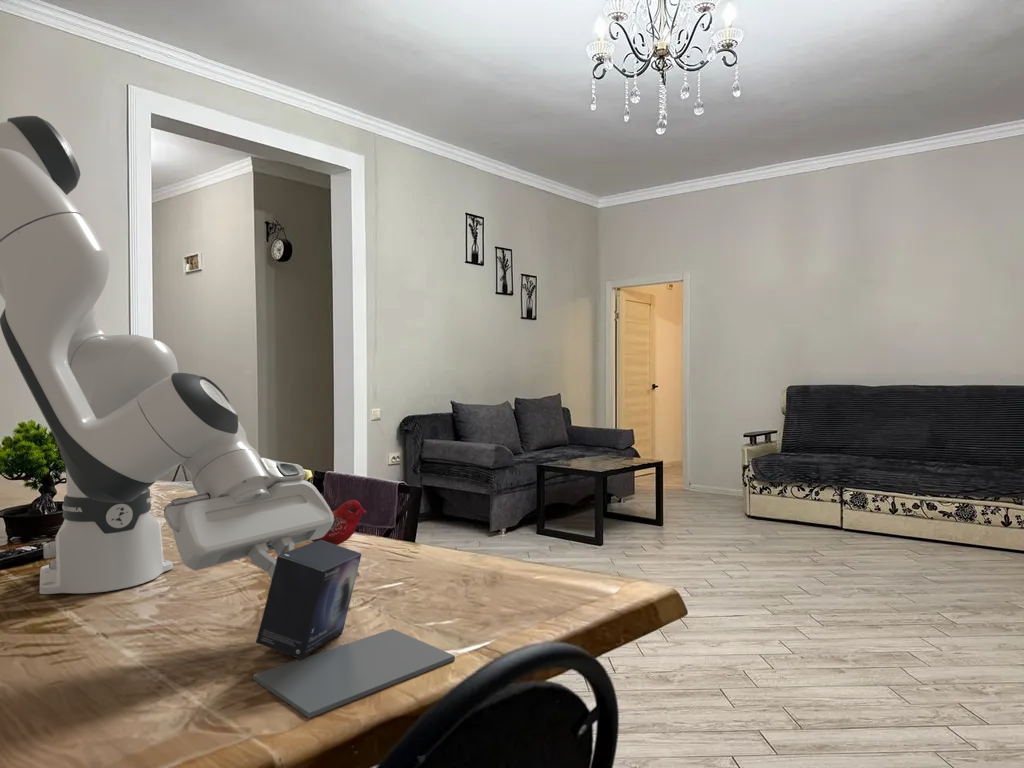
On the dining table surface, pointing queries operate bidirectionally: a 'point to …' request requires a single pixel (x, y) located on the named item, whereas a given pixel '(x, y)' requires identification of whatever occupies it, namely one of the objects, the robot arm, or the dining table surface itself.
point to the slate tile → (351, 671)
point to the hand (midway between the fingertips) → (286, 576)
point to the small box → (308, 597)
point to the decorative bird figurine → (344, 522)
